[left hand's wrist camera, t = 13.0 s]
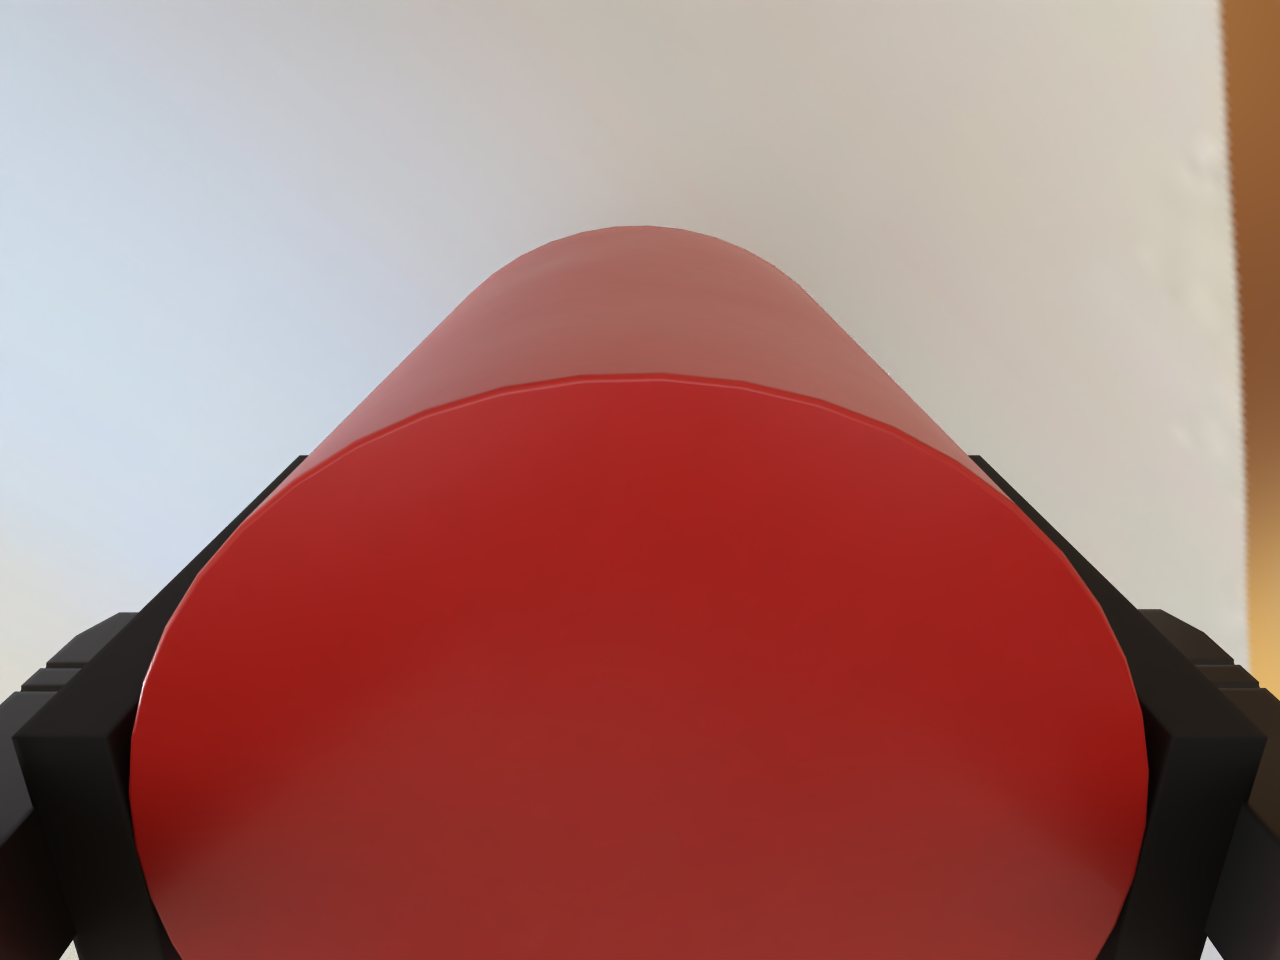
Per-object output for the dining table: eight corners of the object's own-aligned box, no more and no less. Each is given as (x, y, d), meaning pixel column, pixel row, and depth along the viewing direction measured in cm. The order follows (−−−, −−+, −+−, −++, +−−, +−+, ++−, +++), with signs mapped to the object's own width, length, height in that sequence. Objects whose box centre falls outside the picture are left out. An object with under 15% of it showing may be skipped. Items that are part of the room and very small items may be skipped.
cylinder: (740, 721, 18) (833, 1271, 10) (345, 566, 17) (32, 1037, 8) (961, 353, 16) (1378, 650, 7) (509, 135, 14) (300, 155, 6)
